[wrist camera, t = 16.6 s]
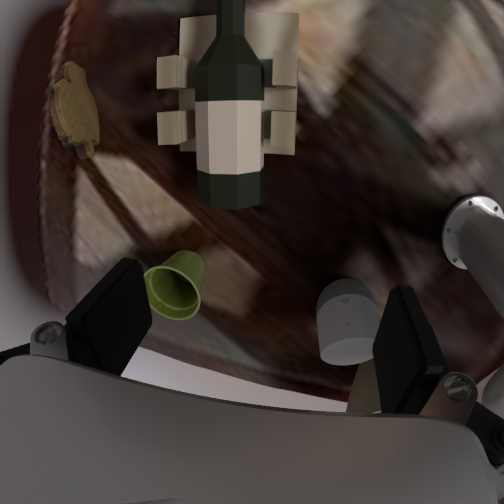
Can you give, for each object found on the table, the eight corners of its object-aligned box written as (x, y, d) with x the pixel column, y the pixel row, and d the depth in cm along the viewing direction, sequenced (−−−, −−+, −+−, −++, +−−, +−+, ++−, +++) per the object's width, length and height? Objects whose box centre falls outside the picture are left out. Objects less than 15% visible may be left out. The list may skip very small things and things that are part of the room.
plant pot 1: (186, 296, 54) (168, 327, 47) (152, 255, 52) (129, 282, 44) (227, 275, 51) (213, 307, 43) (192, 229, 48) (171, 255, 41)
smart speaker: (320, 322, 52) (320, 384, 40) (311, 278, 49) (310, 338, 36) (374, 313, 50) (387, 374, 38) (370, 267, 46) (387, 325, 34)
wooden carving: (69, 73, 38) (27, 75, 30) (88, 59, 37) (46, 57, 28) (97, 156, 45) (58, 172, 36) (117, 146, 44) (78, 160, 35)
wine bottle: (240, 214, 34) (241, -44, 21) (185, 202, 38) (182, -26, 24) (275, 196, 41) (278, -22, 27) (224, 187, 45) (224, -11, 31)
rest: (298, 14, 31) (297, -4, 24) (294, 154, 40) (292, 164, 34) (182, 19, 33) (159, 6, 27) (181, 150, 42) (159, 160, 36)
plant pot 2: (324, 371, 58) (324, 438, 44) (377, 326, 51) (392, 397, 37) (374, 395, 60) (380, 456, 46) (425, 356, 53) (443, 420, 39)
